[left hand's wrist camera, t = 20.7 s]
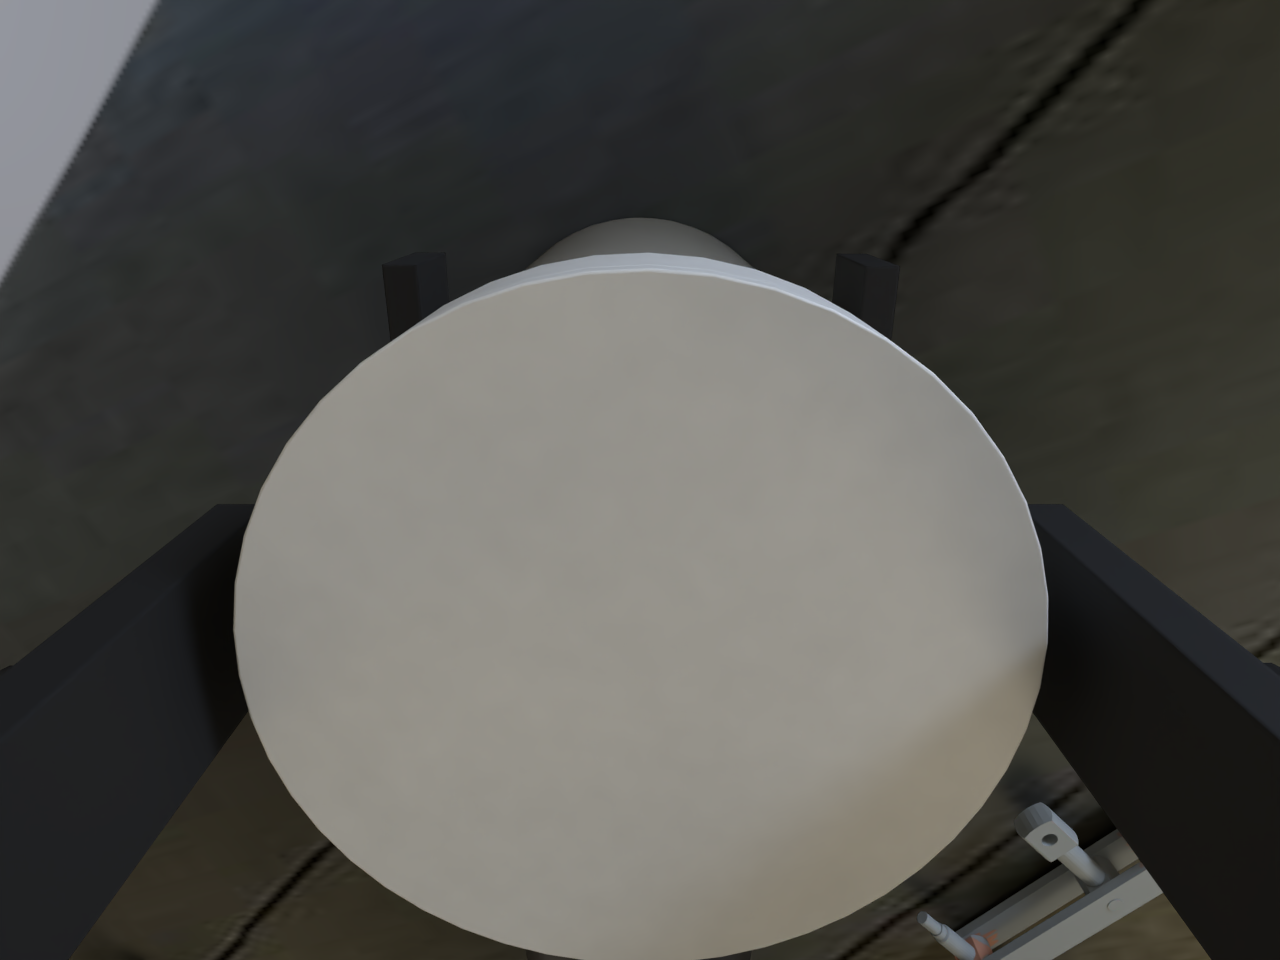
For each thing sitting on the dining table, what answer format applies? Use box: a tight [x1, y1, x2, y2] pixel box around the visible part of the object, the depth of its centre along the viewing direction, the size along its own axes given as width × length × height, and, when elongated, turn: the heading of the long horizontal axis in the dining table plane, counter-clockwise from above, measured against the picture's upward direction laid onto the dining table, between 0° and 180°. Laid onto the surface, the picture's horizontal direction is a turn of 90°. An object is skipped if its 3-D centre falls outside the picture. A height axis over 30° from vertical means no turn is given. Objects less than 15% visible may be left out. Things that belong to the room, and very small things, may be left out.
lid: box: [233, 253, 1048, 960], centre depth 11 cm, size 11×11×2 cm
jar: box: [524, 218, 754, 271], centre depth 19 cm, size 10×10×16 cm
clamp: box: [917, 802, 1163, 960], centre depth 34 cm, size 15×2×10 cm
